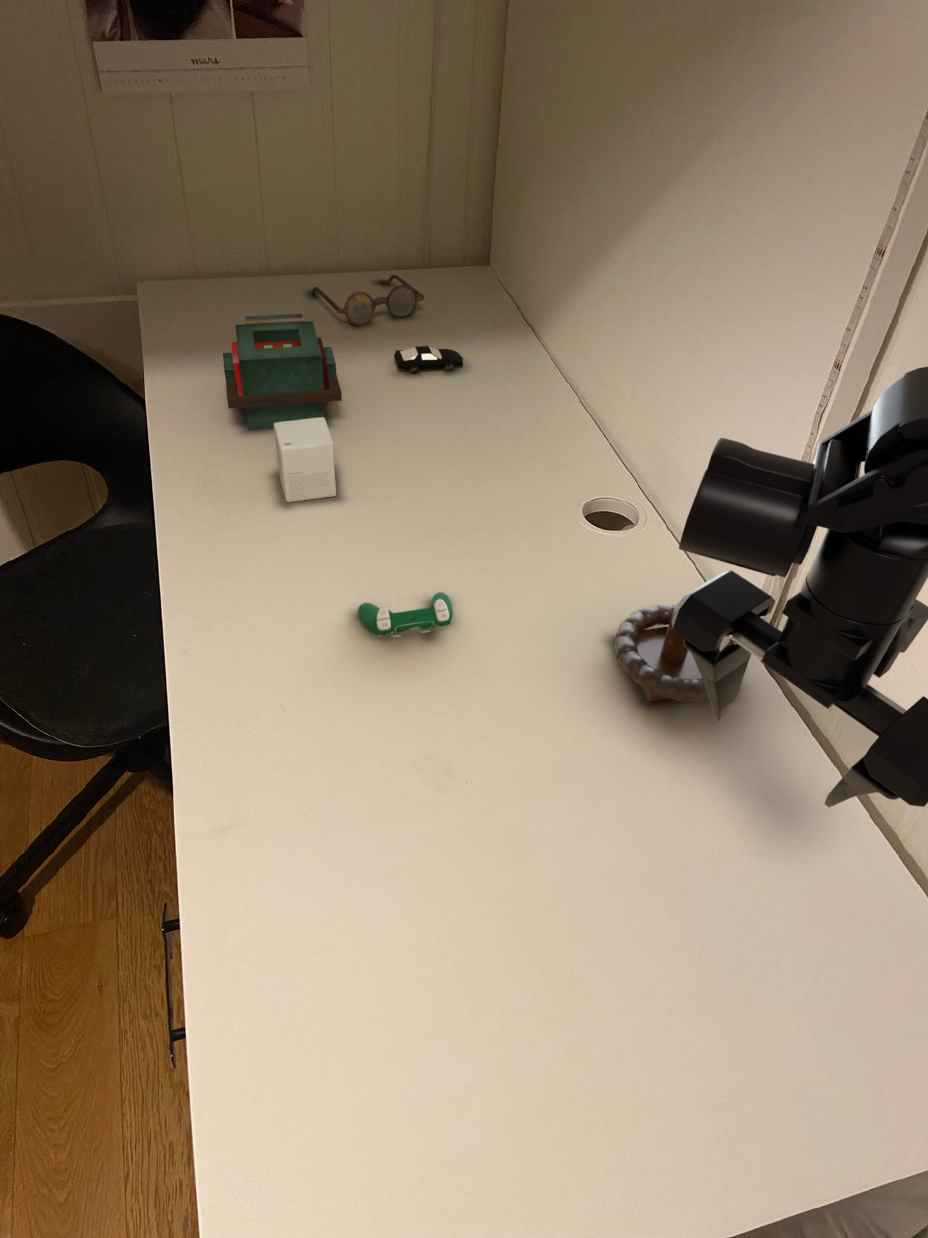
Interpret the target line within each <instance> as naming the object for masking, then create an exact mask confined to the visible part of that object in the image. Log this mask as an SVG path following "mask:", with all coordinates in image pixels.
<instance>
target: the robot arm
mask: <svg viewBox="0 0 928 1238" xmlns="http://www.w3.org/2000/svg"><path fill="white" fill-rule="evenodd" d="M862 463H864V465H863V472H864V474H863V475H860V473H861V468H862ZM818 527H819V528H824V529H826V530H825V532H824V535H823V537H822V539H821V542H820V544H819V546H818V549H817V551H816V552H815V554H814V555H815V556H814V558H813V560H812V562H811V565H810V567H809V569H808V571H807V574H806V576H805V578H804V580H803V582H802V585H801V587H800V589H799V592H798V593H797V594H795V595H793V596H792V597H790V598H789V599H787V601H786V603H785V605H784V608H783V610H782V612H781V614H782V615H784V616H785V617H786V618H787V619H786V621H785V624H784V626H783V628H782V630H780V629H778V628H777V627H775V626H774V625H773V624H771V623H769V622H768V621H767V620H765V619H764V618H762V617H766V616H768V615H769V614H771V613H772V611H773V608H774V606H775V603H776V600H775V598H774V597H773V596H772V595H771V594H769V593H768V592H766V591H764V590H762V589H761V588H759V587H758V586H756V585H755V584H754V583H752V582H750V581H749V580H748V579H746V578H744V577H743V576H741V575H740V574H738V573H737V572H735V571H733V570H732V569H731V570H727V571H724V572H721V573H719V574H717V575H716V576H713V577H712V578H710V579H709V580H708V581H706V582H704V583H702V584H701V585H699V586H697V587H695V588H694V589H692V590H691V591H688V592H687V593H685V594H684V595H683V596H682V598H681V599H680V600H679V602H677V603H676V604H677V606H676V610H675V613H674V616H673V619H672V629H673V631H675V632H676V633H677V634H679V635H680V636H682V637H683V638H684V647H685V648H686V649H687V650H689V651H690V652H691V653H692V655H693V658H694V660H695V662H696V665H697V667H698V670H699V672H700V674H701V677H702V679H703V682H704V685H705V688H706V691H707V694H708V697H709V699H708V700H709V703H710V707H711V710H712V713H713V716H714V719H715V720H717V722H721V721H722V720H724V719H725V718H726V717H728V715H729V714H730V712H731V710H732V708H733V706H734V705H735V703H736V701H737V697H738V694H739V692H740V689H741V685H742V683H743V680H744V677H745V675H746V671H747V668H748V665H749V662H750V660H751V656H753V657H755V658H756V659H758V660H759V661H760V662H761V663H762V664H764V665H765V666H766V667H768V668H769V669H771V670H772V671H774V672H775V673H777V674H778V675H779V676H781V677H782V678H784V679H785V680H786V681H788V682H789V683H791V685H794V686H795V687H796V688H798V689H799V690H800V691H802V692H803V693H805V694H806V695H808V697H810V698H811V699H813V700H814V701H816V702H817V703H819V704H820V705H821V706H823V707H824V708H826V709H827V710H829V709H830V708H832V706H834V707H836V708H838V709H839V710H841V711H842V712H843V713H844V714H846V715H847V716H849V717H850V718H852V719H853V720H854V721H856V722H857V723H859V724H860V725H861V726H862V727H864V728H866V729H867V730H869V731H870V732H871V733H873V734H874V735H876V736H878V737H877V738H876V739H875V741H874V742H873V743H872V744H871V746H870V747H869V748H868V750H867V752H866V753H865V755H863V756H862V757H861V758H860V759H858V761H856V762H855V763H854V764H853V765H852V766H851V767H850V768H849V769H848V771H847V772H846V773H844V775H843V776H842V778H841V779H840V780H839V781H838V782H837V783H836V785H834V787H833V788H832V789H831V790H830V792H829V793H828V794H827V795H826V798H825V801H824V805H825V806H826V807H827V808H831V807H834V806H836V805H838V804H841V803H843V802H845V801H847V800H849V799H852V798H854V797H859V796H865V795H870V794H875V793H878V794H880V795H881V796H883V797H884V798H886V799H888V800H891V801H897V800H898V799H901V800H902V801H903V802H905V804H908V805H909V806H911V807H912V806H913V807H920V808H924V807H926V805H928V698H927V697H926V696H924V695H923V696H921V697H920V698H919V699H918V700H917V701H916V702H914V704H913V705H911V706H910V707H909V708H908V709H905V708H903V707H902V706H901V705H899V704H898V703H896V702H895V701H894V700H892V699H891V698H889V697H888V696H886V695H884V694H883V693H882V692H880V691H878V689H876V688H874V687H873V686H871V685H870V684H868V683H869V682H870V680H871V678H872V677H873V675H874V676H875V677H877V678H878V679H880V678H882V677H883V676H884V675H885V674H887V672H889V671H890V670H891V668H892V667H893V665H894V664H895V661H896V660H897V658H898V656H899V655H900V653H901V654H904V653H906V652H907V650H908V649H909V647H910V646H911V645H912V643H913V642H914V640H915V639H916V638H917V636H918V635H919V633H920V632H921V630H922V629H923V627H925V625H926V624H927V622H928V606H927V605H926V604H925V603H923V602H921V601H920V600H918V599H917V598H918V596H919V594H920V592H921V591H922V589H923V587H924V586H925V584H926V583H927V580H928V366H921V367H918V368H915V369H912V370H910V371H907V372H905V373H904V374H902V376H901V377H900V378H899V379H897V380H896V381H895V382H894V383H892V384H891V385H889V387H887V388H886V389H885V390H884V391H883V392H882V393H881V395H880V397H879V398H878V399H877V400H876V402H875V404H874V406H873V408H872V409H871V410H869V411H867V412H866V413H864V414H862V415H861V416H859V417H857V418H856V419H854V420H853V421H851V422H849V423H848V424H846V425H845V426H842V427H841V428H839V429H837V430H836V431H835V432H833V433H831V434H830V435H827V437H825V438H823V439H822V440H820V441H819V442H818V444H817V448H816V453H815V457H814V460H813V462H812V463H811V462H807V461H803V460H800V459H797V458H796V459H795V458H791V457H787V456H785V455H779V454H775V453H773V452H772V453H771V452H768V451H765V450H764V451H763V450H760V449H756V448H753V447H752V446H749V445H748V444H746V443H743V442H741V441H737V440H734V439H729V438H726V437H719V438H718V439H717V440H716V442H715V444H714V447H713V450H712V452H711V455H710V458H709V461H708V464H707V467H706V469H705V470H704V473H703V476H702V477H701V481H700V483H699V486H698V488H697V491H696V493H695V497H694V499H693V502H692V504H691V507H690V509H689V512H688V515H687V518H686V521H685V524H684V528H683V530H682V533H681V538H680V541H679V546H678V550H680V551H682V552H687V553H691V554H694V555H698V556H701V557H704V558H708V559H712V560H715V561H718V562H722V563H725V564H728V565H732V566H736V567H739V568H742V569H746V570H750V571H752V572H757V573H761V574H764V575H767V576H771V577H776V576H777V577H781V578H786V577H787V576H788V573H789V571H790V570H791V567H792V566H793V564H794V565H798V566H802V564H803V562H804V561H805V558H806V556H807V554H808V553H809V549H810V547H811V544H812V541H813V539H814V537H815V534H816V532H817V529H818Z"/></svg>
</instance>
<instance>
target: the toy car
mask: <svg viewBox="0 0 928 1238" xmlns="http://www.w3.org/2000/svg"><path fill="white" fill-rule="evenodd" d="M393 358H394V361H395V364H396V366H397V369H399V370H403V371H404V370H405V371H409V372H410V373H411V374H413V375H415V374H418V373H419V371H430V370H431V371H432V370H446V371H447V372H452V371H453V370H454V369H455V367H463V366H464V358H463V356H461V354H460V353H459V352H458V351H456V350H454V349H450V348H435V347H433V346H429V345H420V346H413V347H410V348H407V349H401V350H399V349H395V353H393Z"/></svg>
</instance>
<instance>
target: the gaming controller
mask: <svg viewBox="0 0 928 1238" xmlns="http://www.w3.org/2000/svg"><path fill="white" fill-rule="evenodd" d="M453 614H454V611H453V604H452V602H451V600H450V597H449V596H448V595H447V594H446V593H445V592H439V591H438V592H436V593H434V594H433V596H432V598H431V601H430V605H429V606H428V607H425V608H418V609H412V610H403V611H398V612H397V611H396V612H392V611H391V610H389V609H388V608H387V607H385V606H382V607H378V606H376V605H375V604H373V603H371V602H363V603H361V604H360V605H359V606H358V607H357V615H358V617H359V619H360V621H361V623H362V624H363V626H364V628H365V629H366V630H367V631H368V632H369V633H371V634H373V635H374V637H377V636H387V635H390V637H391V638H392V639H393V638H398V637H399V638H400V637H402V633H403V632H407V631H415V630H420V631H419V633H420V634H424V633H425V634H427V633H430V632H431V628H432V629H433V628H438V627H444V626H449V625H450V624H452V619H453V617H454V615H453Z"/></svg>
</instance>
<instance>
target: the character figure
mask: <svg viewBox="0 0 928 1238" xmlns="http://www.w3.org/2000/svg"><path fill="white" fill-rule="evenodd" d="M244 320H245V323H244V324H235V325H234V326H235V336H236V341H231V342H230V344H231V345H230V346H231V352H223V353H222V361H223V371H224V378H225V379H224V380H225V388H226V401H227V407H228V409H229V410H230V409H245V414H246V415H245V416H246V420H247V427H248V428H247V429H248V431H250V432H251V431H262V430H274V423H276V422H284V421H293V420H302V419H310V418H320V417H324V418H325V420H326V421H327V415H326V403H330V402H341V401H343V399H342V398H343V397H342V390H341V389H342V388H341V386H340V382H339V379H338V374H337V363H336V359H335V356H334V351H333V349H332V346H325V347H324V344H323V340H322V337H321V336H320V337H318V335H317V333H316V327H315V325H314V321H313V320H304V317H303V313H290V314H289V313H288V314H269V315H248V316H247V315H246V316H244Z"/></svg>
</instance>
